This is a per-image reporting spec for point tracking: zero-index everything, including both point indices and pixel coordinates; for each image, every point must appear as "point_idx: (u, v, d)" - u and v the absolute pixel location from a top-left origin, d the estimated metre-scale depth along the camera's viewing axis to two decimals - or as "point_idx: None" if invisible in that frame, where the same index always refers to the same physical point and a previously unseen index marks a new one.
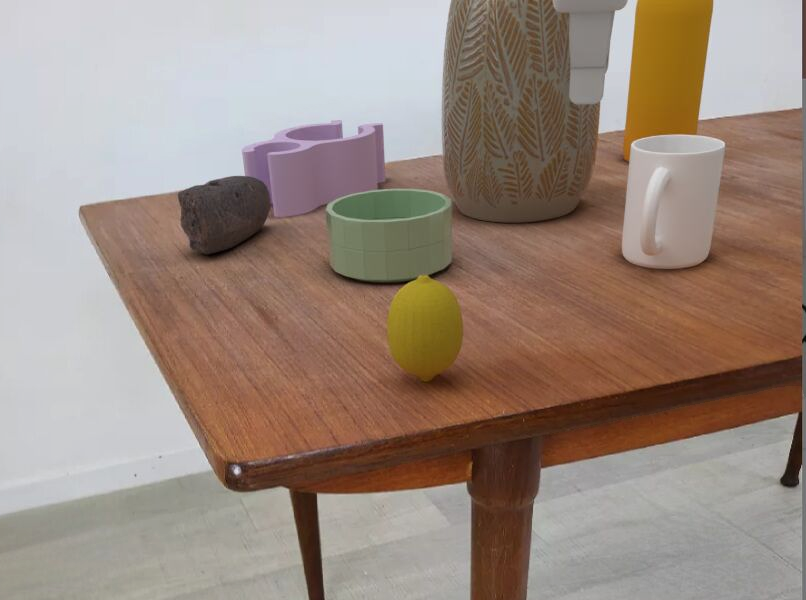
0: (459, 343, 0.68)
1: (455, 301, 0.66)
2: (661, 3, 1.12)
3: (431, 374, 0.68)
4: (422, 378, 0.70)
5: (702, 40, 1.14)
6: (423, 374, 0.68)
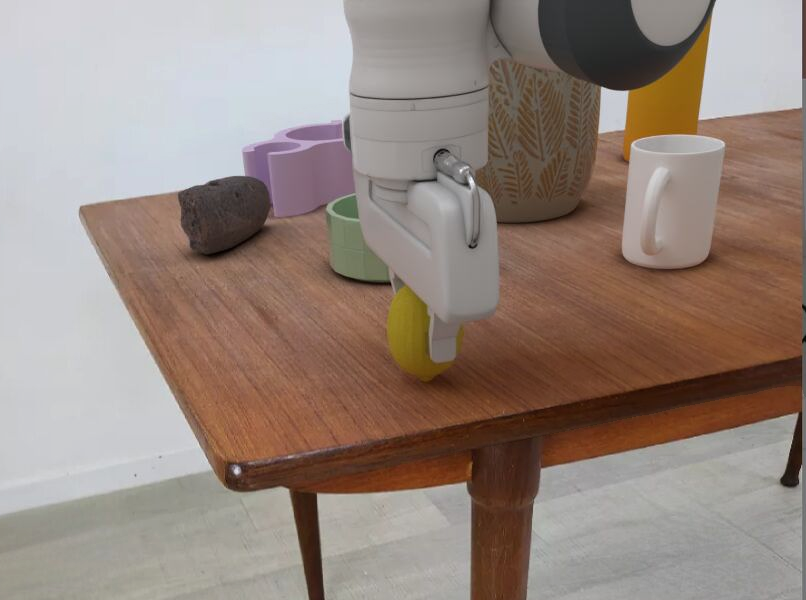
0: (459, 343, 0.68)
1: None
2: None
3: (431, 374, 0.68)
4: (422, 378, 0.70)
5: (702, 40, 1.14)
6: (423, 374, 0.68)
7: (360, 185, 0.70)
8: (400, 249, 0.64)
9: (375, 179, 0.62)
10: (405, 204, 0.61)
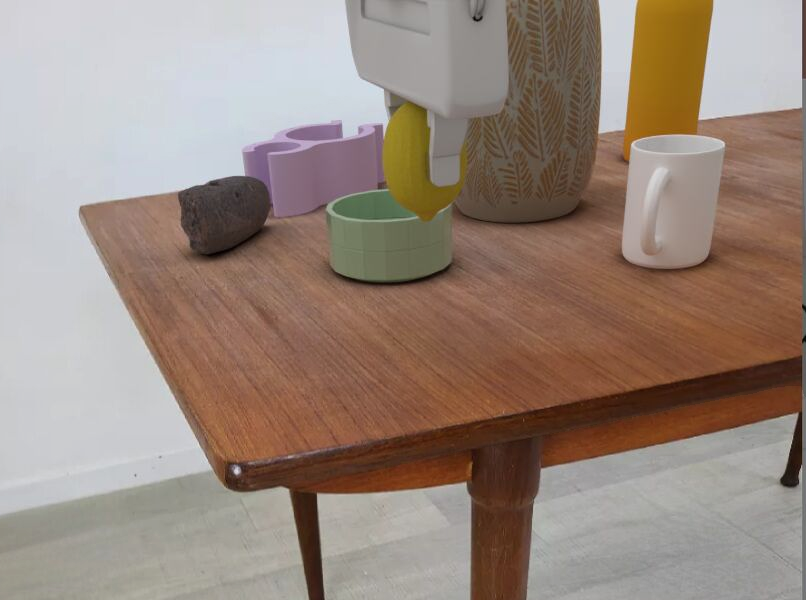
0: (463, 171, 0.61)
1: None
2: (661, 3, 1.12)
3: (432, 208, 0.62)
4: (422, 216, 0.63)
5: (702, 40, 1.14)
6: (423, 208, 0.62)
7: (351, 2, 0.63)
8: (395, 55, 0.57)
9: None
10: None
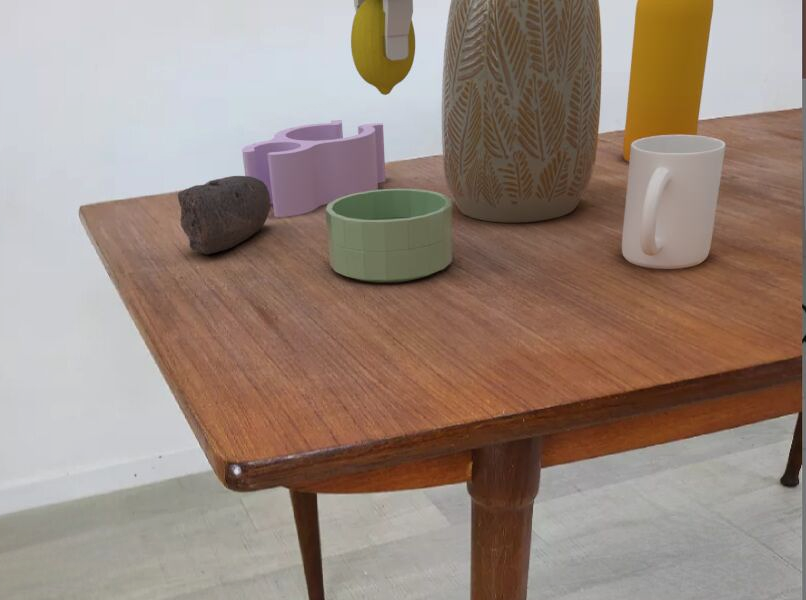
0: (411, 52, 0.80)
1: None
2: (661, 3, 1.12)
3: (388, 81, 0.81)
4: (381, 89, 0.82)
5: (702, 40, 1.14)
6: (382, 81, 0.81)
7: None
8: None
9: None
10: None
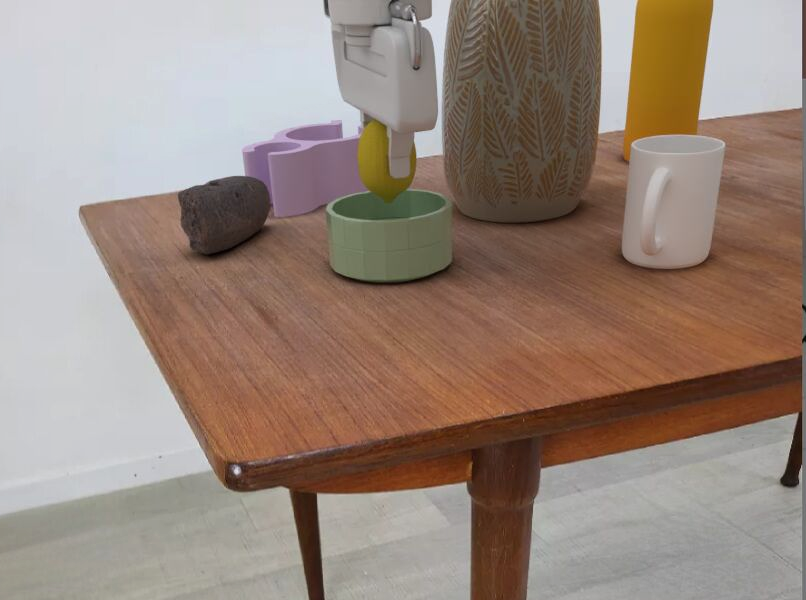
0: (413, 167, 0.87)
1: None
2: (661, 3, 1.12)
3: (392, 193, 0.88)
4: (385, 199, 0.89)
5: (702, 40, 1.14)
6: (385, 193, 0.88)
7: (337, 48, 0.89)
8: (366, 88, 0.84)
9: (346, 30, 0.81)
10: (369, 48, 0.80)
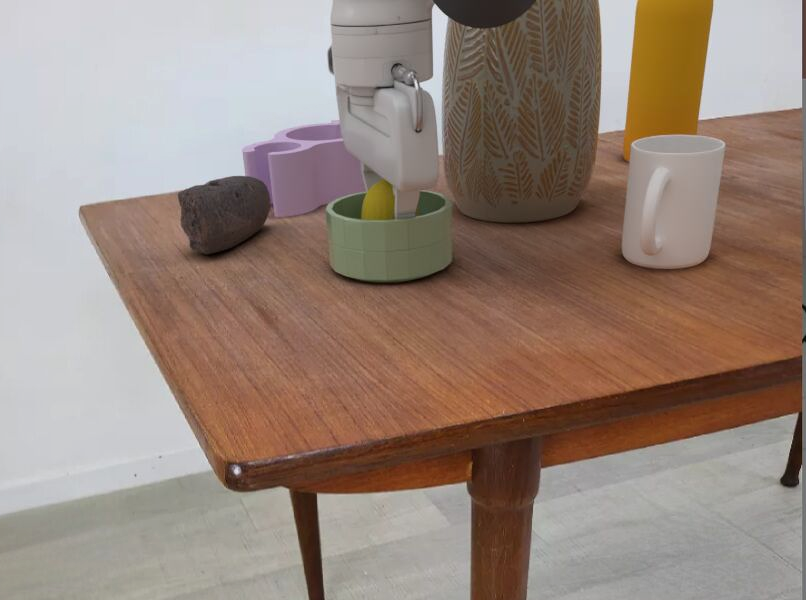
0: None
1: None
2: (661, 3, 1.12)
3: None
4: None
5: (702, 40, 1.14)
6: None
7: (341, 102, 0.92)
8: (369, 144, 0.86)
9: (350, 90, 0.84)
10: (372, 107, 0.83)
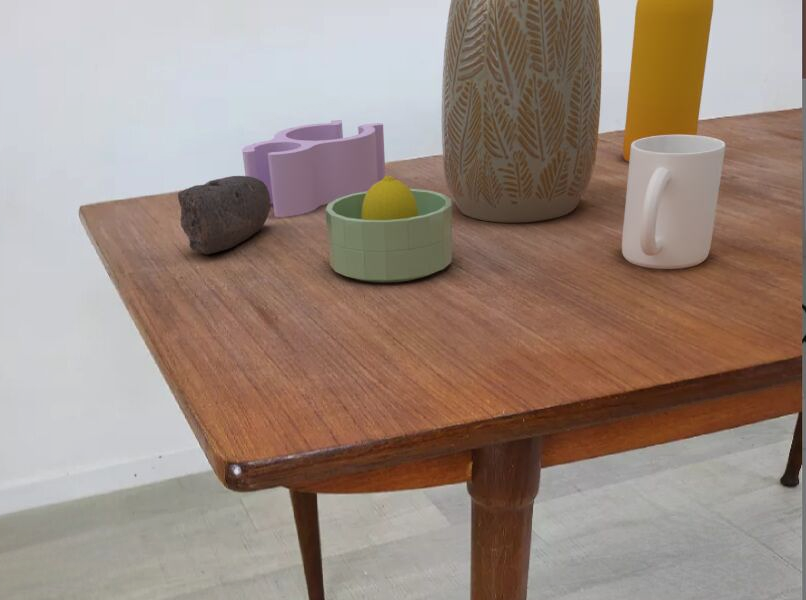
0: None
1: (412, 195, 0.89)
2: (661, 3, 1.12)
3: None
4: None
5: (702, 40, 1.14)
6: None
7: None
8: None
9: None
10: None
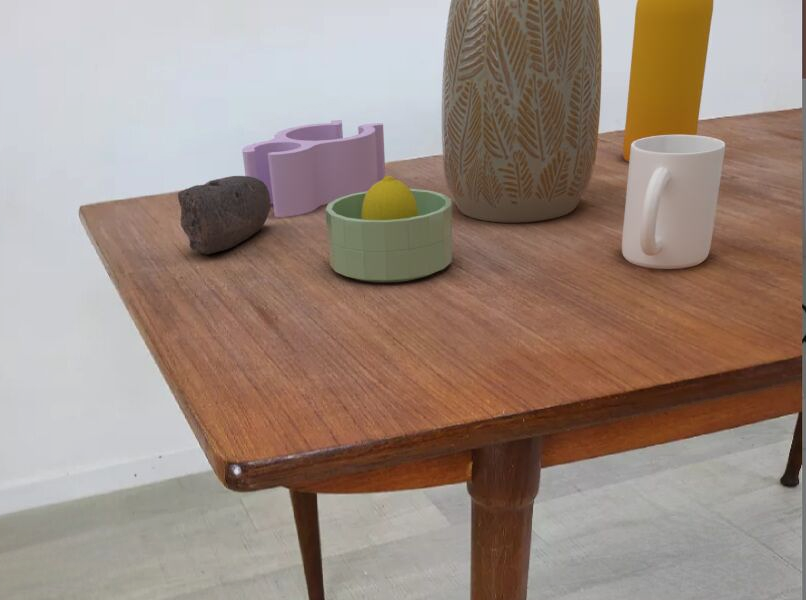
0: None
1: (412, 195, 0.89)
2: (661, 3, 1.12)
3: None
4: None
5: (702, 40, 1.14)
6: None
7: None
8: None
9: None
10: None
